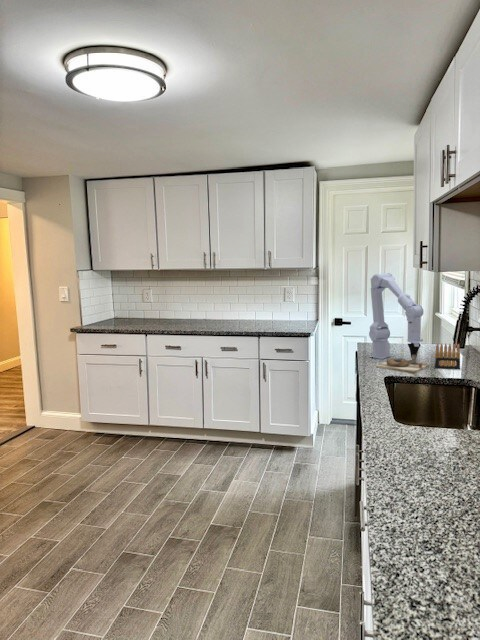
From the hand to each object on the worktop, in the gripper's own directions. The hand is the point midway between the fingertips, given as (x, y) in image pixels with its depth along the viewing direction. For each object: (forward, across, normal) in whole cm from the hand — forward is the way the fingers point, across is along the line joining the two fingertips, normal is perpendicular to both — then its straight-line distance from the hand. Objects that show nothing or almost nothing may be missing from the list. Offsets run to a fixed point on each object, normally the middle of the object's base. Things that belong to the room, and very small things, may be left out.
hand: (413, 358), depth 215 cm
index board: (+3, -4, +6) cm, 8 cm away
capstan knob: (+2, -3, +6) cm, 7 cm away
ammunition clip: (+4, -5, -14) cm, 15 cm away
